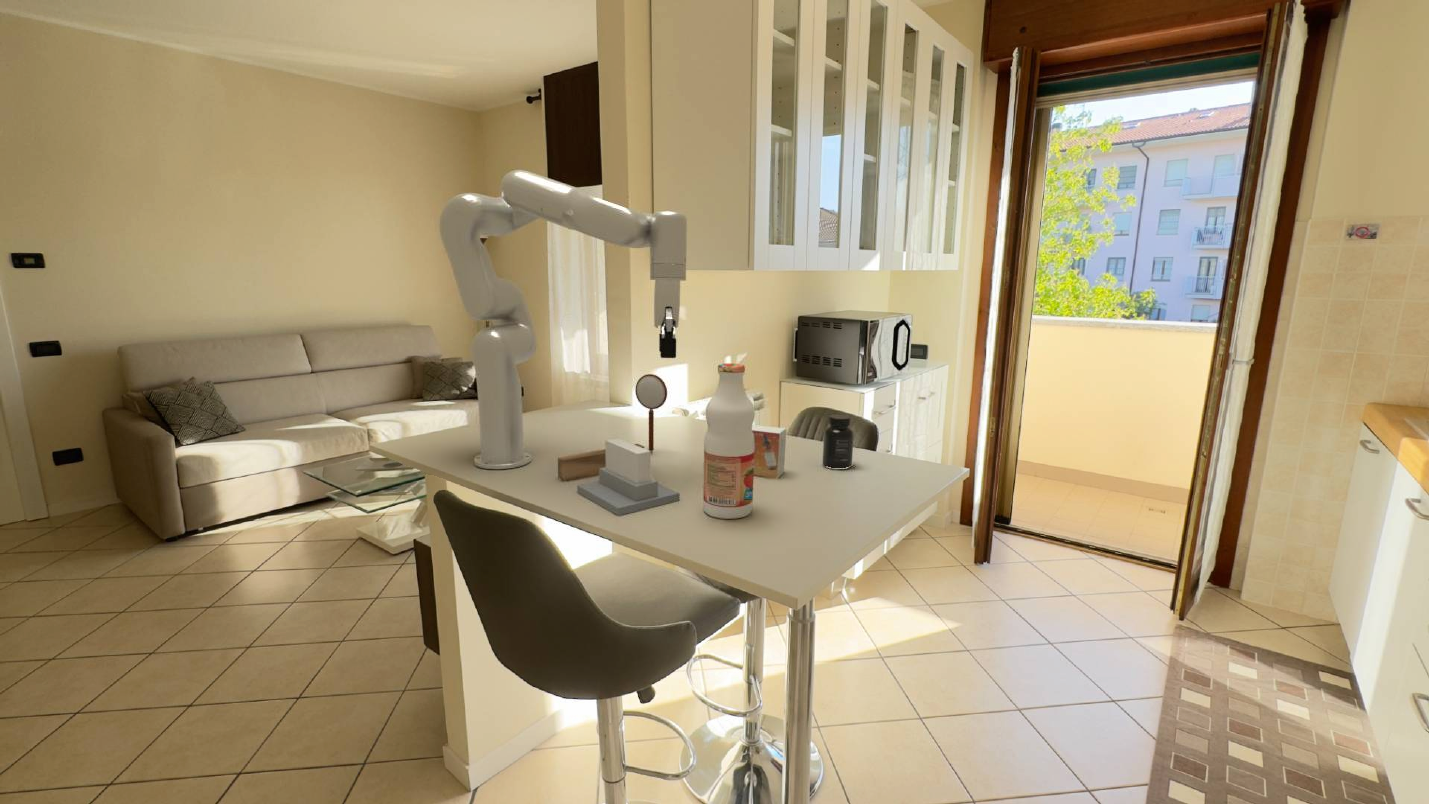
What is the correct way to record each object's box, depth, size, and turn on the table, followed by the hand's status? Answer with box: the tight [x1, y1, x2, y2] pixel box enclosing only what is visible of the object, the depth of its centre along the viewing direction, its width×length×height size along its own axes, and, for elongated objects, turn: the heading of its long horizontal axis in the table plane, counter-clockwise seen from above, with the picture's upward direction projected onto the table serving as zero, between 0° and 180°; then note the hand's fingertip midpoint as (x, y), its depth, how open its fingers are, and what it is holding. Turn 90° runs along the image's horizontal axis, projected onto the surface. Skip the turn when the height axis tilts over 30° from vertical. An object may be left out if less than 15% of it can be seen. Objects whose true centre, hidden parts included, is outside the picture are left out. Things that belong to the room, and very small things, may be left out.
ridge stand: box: [576, 438, 681, 517], centre depth 128 cm, size 16×14×10 cm
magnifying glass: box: [635, 373, 668, 455], centre depth 158 cm, size 9×2×20 cm, turn 66°
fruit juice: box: [702, 362, 756, 520], centre depth 120 cm, size 9×9×28 cm
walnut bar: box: [557, 443, 645, 482], centre depth 144 cm, size 3×20×5 cm, turn 128°
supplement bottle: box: [822, 414, 855, 468], centre depth 152 cm, size 7×7×12 cm
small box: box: [752, 424, 787, 479], centre depth 145 cm, size 8×6×10 cm
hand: (667, 354), depth 138 cm, fingers open, 9 cm apart
